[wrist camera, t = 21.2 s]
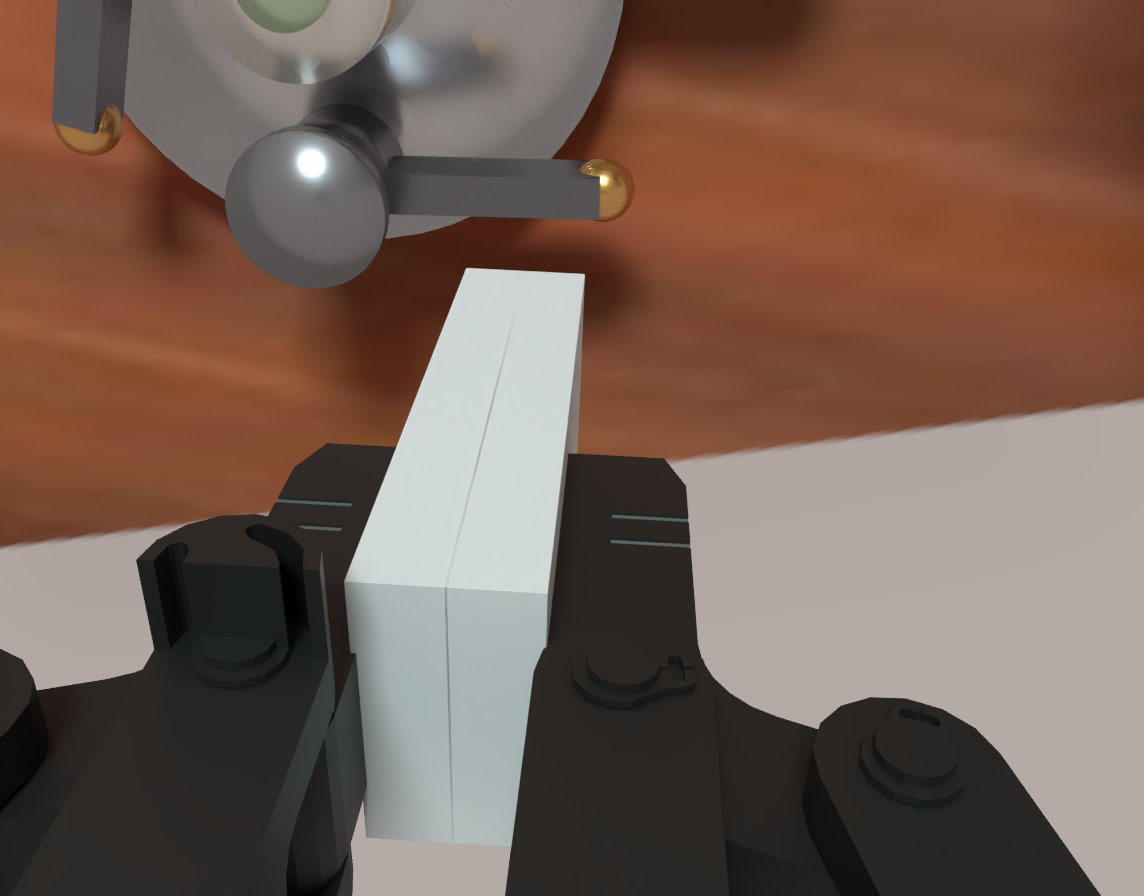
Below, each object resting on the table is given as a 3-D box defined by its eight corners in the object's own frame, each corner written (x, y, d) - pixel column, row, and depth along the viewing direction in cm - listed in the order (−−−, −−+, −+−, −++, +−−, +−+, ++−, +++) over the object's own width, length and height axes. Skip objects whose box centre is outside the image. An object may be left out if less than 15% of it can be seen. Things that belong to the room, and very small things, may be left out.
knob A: (286, 230, 42) (237, 286, 37) (268, 90, 39) (213, 129, 34) (632, 239, 41) (631, 298, 36) (637, 99, 39) (637, 140, 33)
